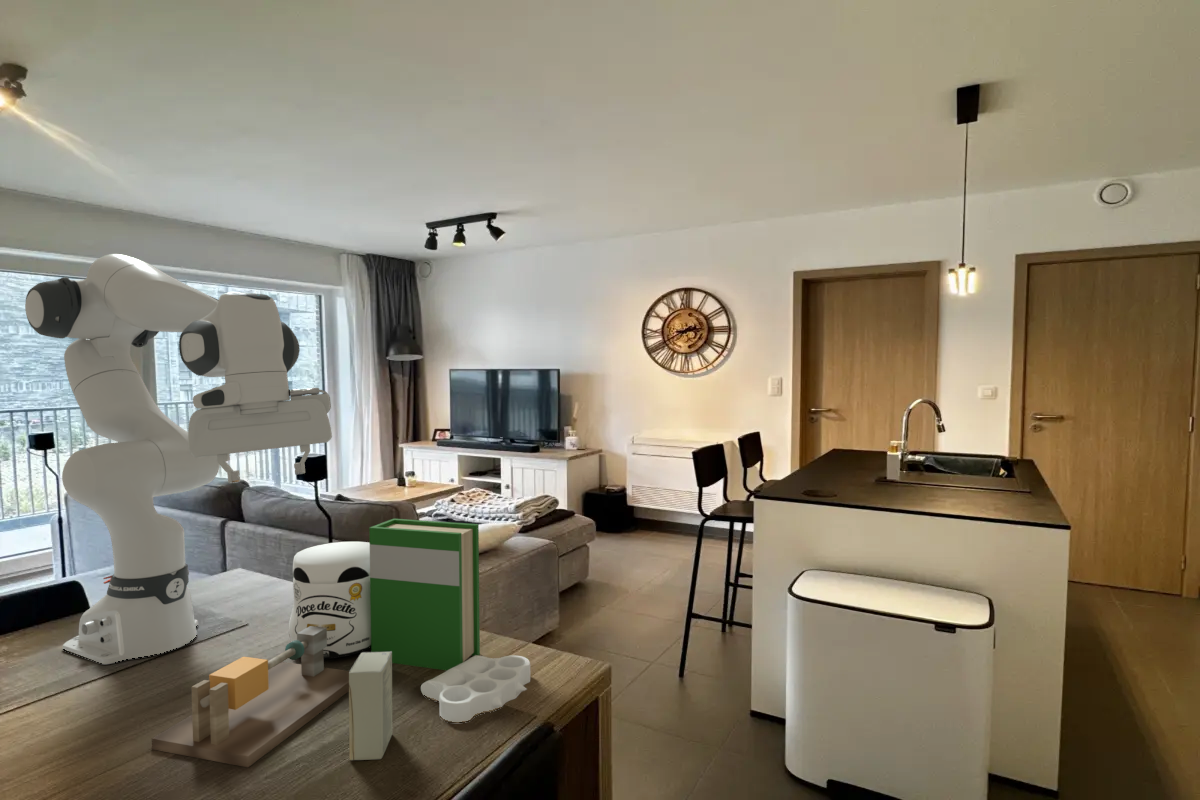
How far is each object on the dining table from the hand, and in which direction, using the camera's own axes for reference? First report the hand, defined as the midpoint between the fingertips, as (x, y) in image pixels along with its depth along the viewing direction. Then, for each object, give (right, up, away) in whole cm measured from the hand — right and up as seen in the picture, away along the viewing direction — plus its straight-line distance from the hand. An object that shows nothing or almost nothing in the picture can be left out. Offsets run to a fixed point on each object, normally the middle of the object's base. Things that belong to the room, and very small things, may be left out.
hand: (268, 478), depth 102 cm
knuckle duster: (+34, -35, 0) cm, 49 cm away
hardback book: (+22, -34, +13) cm, 43 cm away
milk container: (+4, -34, +18) cm, 39 cm away
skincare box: (+22, -35, -15) cm, 44 cm away
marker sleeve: (+1, -30, -11) cm, 32 cm away
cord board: (+3, -35, -6) cm, 35 cm away
